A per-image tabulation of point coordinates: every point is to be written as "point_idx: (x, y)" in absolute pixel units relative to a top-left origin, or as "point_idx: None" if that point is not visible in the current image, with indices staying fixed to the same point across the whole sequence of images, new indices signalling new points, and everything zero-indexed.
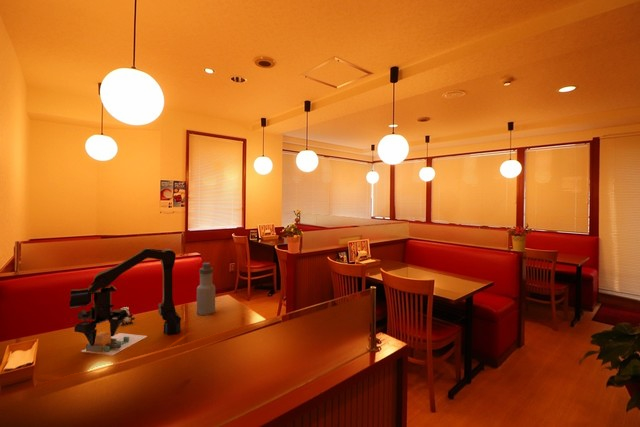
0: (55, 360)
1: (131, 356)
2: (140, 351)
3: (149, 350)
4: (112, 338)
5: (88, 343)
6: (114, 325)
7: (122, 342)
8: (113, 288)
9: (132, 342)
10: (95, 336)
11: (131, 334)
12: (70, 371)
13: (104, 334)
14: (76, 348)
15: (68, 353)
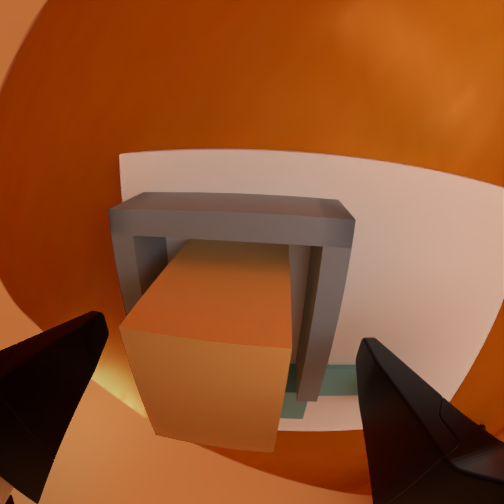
0: (35, 88)
1: (217, 452)
2: (271, 459)
3: (286, 472)
4: (318, 372)
5: (130, 216)
6: (390, 486)
7: (343, 383)
8: None
9: (351, 418)
10: (62, 433)
11: (493, 319)
12: (21, 304)
13: (208, 427)
14: (215, 5)
15: (120, 44)
